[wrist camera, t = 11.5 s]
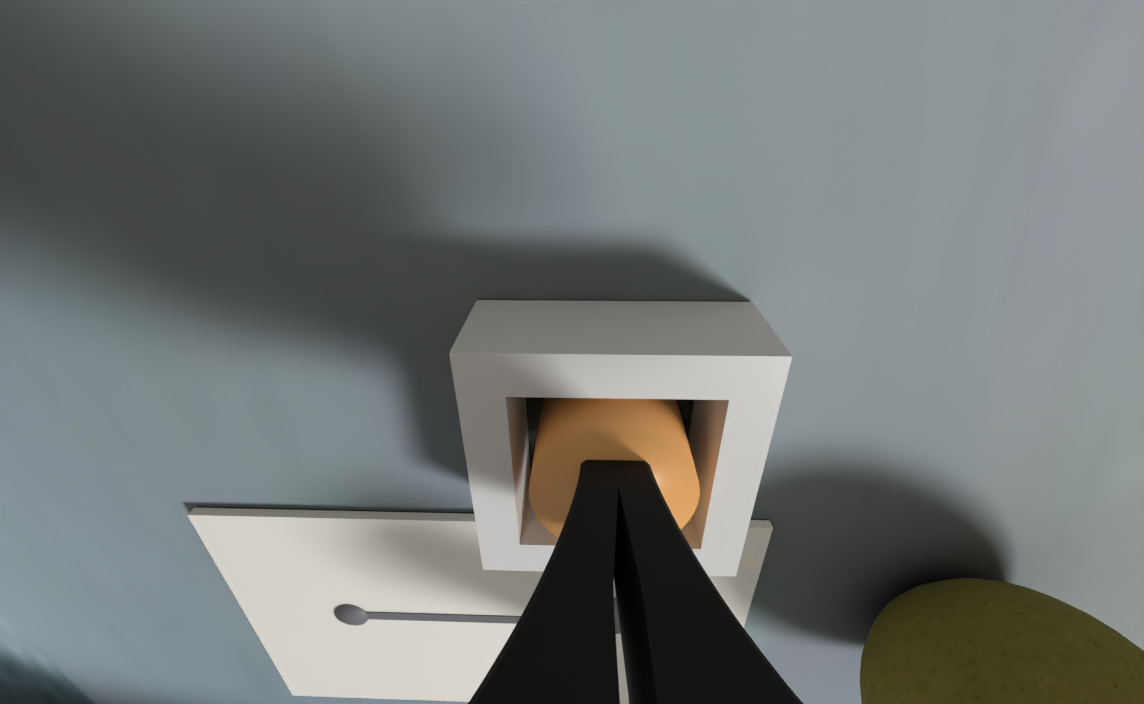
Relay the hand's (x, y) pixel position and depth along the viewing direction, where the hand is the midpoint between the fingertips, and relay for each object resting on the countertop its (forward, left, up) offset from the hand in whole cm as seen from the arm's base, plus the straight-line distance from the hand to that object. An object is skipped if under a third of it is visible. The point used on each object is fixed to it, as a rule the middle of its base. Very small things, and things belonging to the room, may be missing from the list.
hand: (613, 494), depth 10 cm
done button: (0, 0, -2) cm, 2 cm away
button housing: (0, 0, -3) cm, 3 cm away
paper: (-10, +4, -3) cm, 11 cm away
